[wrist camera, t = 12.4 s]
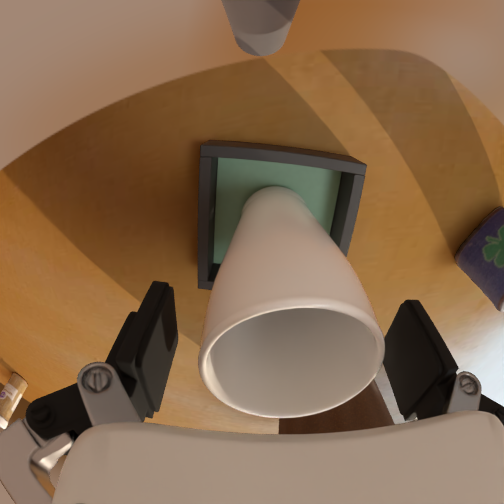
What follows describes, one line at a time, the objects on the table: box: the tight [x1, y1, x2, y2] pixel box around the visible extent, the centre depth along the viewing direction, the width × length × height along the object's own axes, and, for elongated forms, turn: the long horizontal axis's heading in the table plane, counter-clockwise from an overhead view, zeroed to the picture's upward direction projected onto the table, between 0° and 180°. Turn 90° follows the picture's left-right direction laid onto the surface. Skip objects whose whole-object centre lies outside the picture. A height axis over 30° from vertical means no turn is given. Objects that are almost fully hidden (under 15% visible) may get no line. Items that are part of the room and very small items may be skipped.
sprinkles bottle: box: [0, 373, 28, 429], centre depth 35 cm, size 5×5×13 cm
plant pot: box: [279, 379, 395, 434], centre depth 26 cm, size 16×16×16 cm
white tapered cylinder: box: [198, 186, 385, 418], centre depth 16 cm, size 7×7×15 cm
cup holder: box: [198, 140, 367, 290], centre depth 21 cm, size 11×11×4 cm
